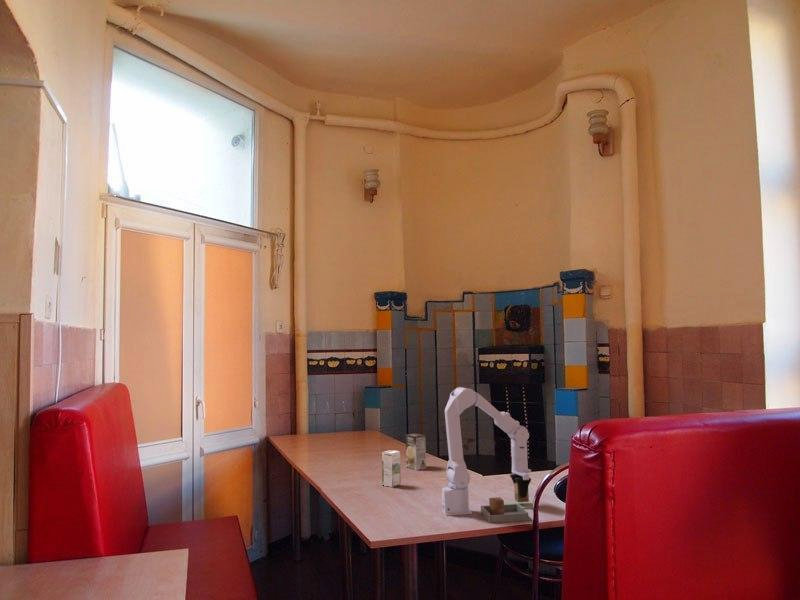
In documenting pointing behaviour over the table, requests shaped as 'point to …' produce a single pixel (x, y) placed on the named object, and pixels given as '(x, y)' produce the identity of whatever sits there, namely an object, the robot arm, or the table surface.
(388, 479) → the syrup box
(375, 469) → the table surface
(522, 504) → the mat
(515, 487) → the label block
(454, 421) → the robot arm
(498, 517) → the bin
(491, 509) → the plain block
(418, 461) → the coffee box
